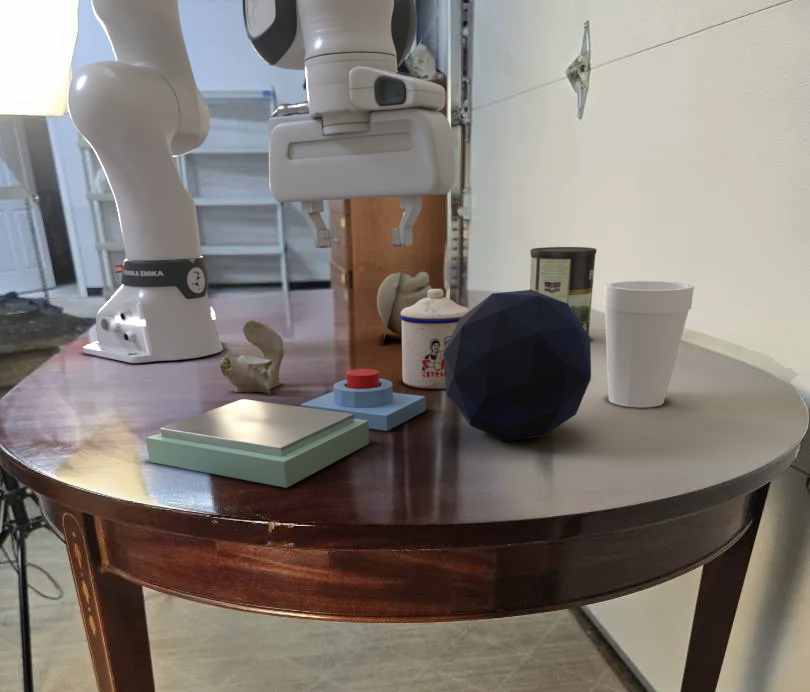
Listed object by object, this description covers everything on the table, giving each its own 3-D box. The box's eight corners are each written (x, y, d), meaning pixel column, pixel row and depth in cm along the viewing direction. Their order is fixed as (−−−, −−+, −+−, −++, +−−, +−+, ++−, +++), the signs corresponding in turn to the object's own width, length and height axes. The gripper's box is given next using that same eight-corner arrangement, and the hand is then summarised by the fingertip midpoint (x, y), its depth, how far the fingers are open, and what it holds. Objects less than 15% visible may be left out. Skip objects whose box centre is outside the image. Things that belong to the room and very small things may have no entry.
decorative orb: (490, 357, 89) (456, 253, 77) (620, 370, 82) (604, 257, 70) (444, 457, 83) (399, 362, 71) (578, 479, 76) (553, 378, 64)
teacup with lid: (423, 393, 96) (422, 296, 91) (388, 379, 103) (386, 288, 98) (502, 381, 101) (505, 288, 96) (463, 369, 108) (465, 282, 103)
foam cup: (679, 394, 94) (694, 281, 88) (677, 413, 86) (693, 291, 80) (599, 389, 96) (609, 280, 91) (590, 407, 89) (600, 289, 83)
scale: (149, 462, 73) (144, 429, 72) (243, 424, 84) (240, 395, 83) (286, 488, 66) (283, 452, 65) (369, 443, 77) (368, 412, 76)
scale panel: (301, 419, 86) (299, 388, 85) (344, 400, 93) (343, 371, 92) (387, 431, 81) (386, 398, 80) (425, 410, 88) (425, 380, 87)
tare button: (341, 389, 85) (340, 373, 85) (357, 382, 88) (357, 367, 87) (369, 392, 84) (368, 376, 83) (385, 385, 87) (384, 370, 86)
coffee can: (582, 333, 133) (589, 245, 127) (594, 344, 123) (603, 250, 118) (522, 334, 133) (526, 246, 127) (530, 345, 124) (535, 251, 118)
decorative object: (425, 345, 136) (426, 357, 126) (368, 330, 135) (365, 340, 125) (446, 272, 130) (448, 278, 121) (387, 254, 129) (385, 260, 120)
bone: (236, 390, 92) (218, 311, 93) (221, 408, 98) (205, 333, 98) (302, 385, 96) (284, 310, 97) (285, 403, 102) (268, 331, 103)
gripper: (247, 103, 77) (264, 250, 83) (431, 80, 68) (436, 247, 74) (284, 107, 82) (298, 246, 88) (460, 87, 73) (463, 242, 79)
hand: (362, 247), depth 81 cm, fingers open, 8 cm apart
